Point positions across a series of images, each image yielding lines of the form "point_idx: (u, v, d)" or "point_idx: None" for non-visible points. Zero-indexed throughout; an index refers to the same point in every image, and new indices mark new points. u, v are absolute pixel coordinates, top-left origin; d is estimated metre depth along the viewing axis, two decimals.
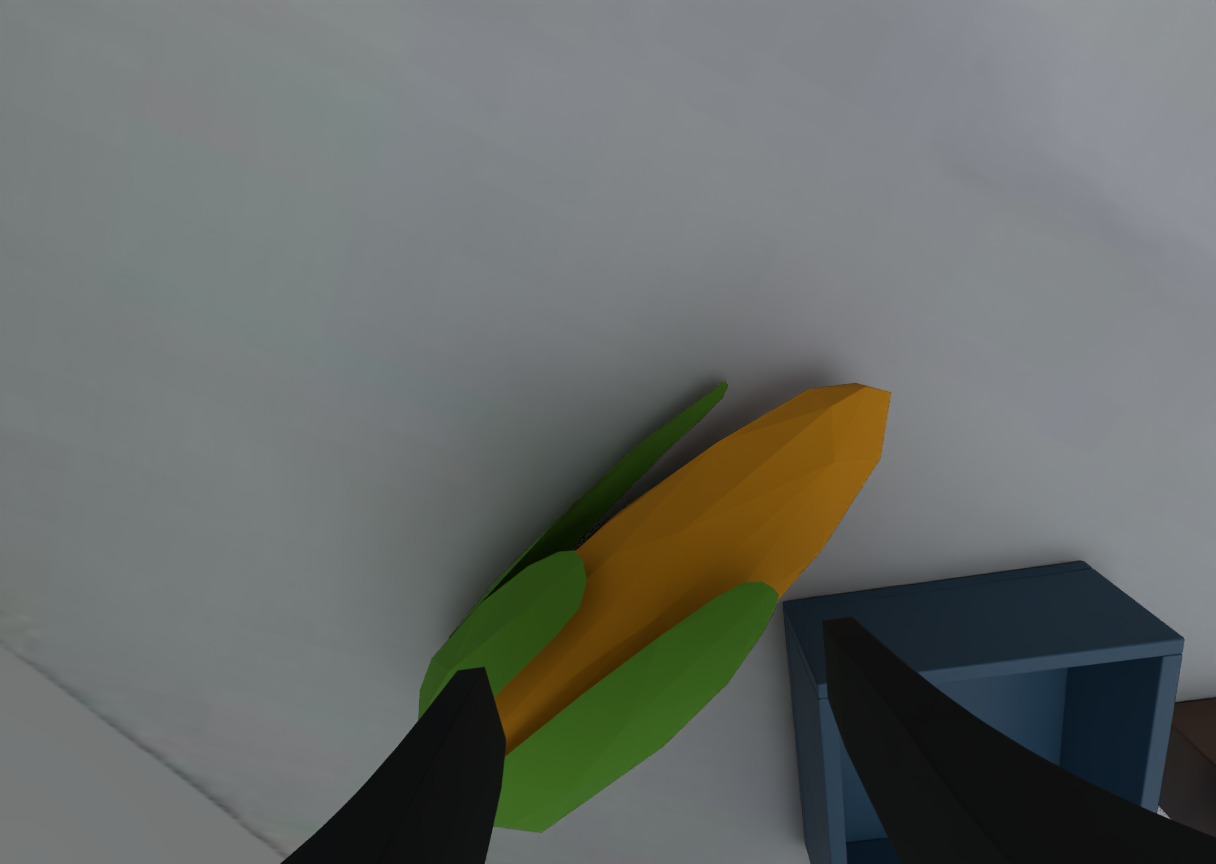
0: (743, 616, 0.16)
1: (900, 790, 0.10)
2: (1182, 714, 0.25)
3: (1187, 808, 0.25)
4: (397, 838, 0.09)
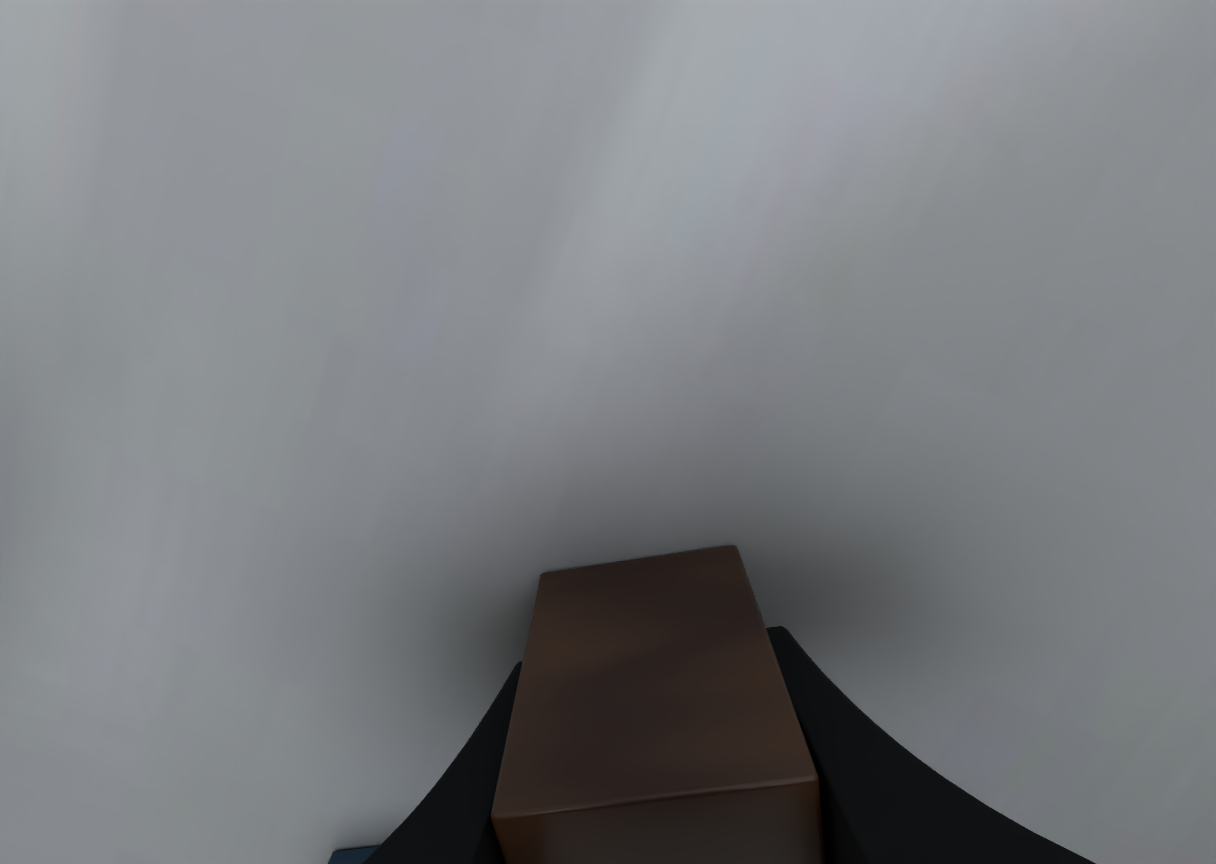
0: None
1: None
2: None
3: None
4: (487, 828, 0.09)
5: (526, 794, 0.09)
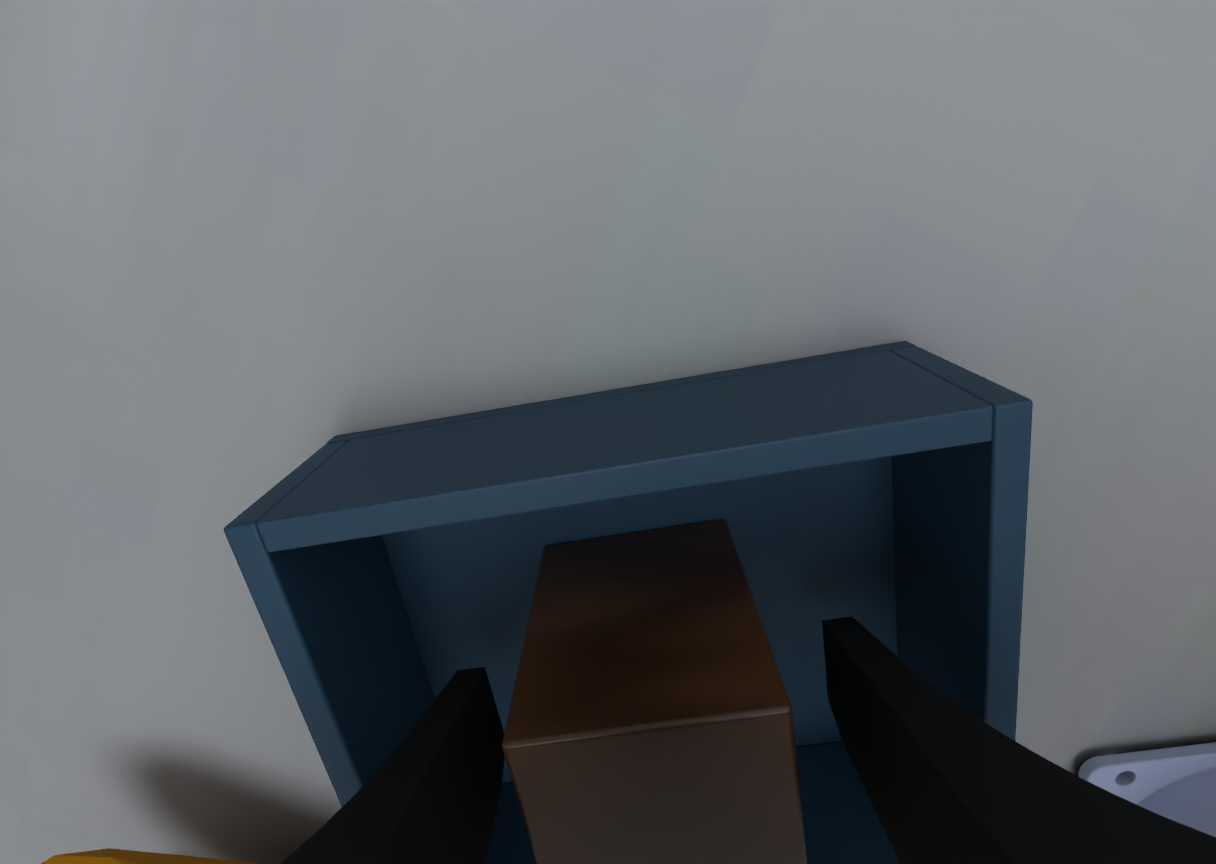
0: None
1: (900, 790, 0.10)
2: None
3: None
4: (396, 838, 0.09)
5: (533, 727, 0.10)
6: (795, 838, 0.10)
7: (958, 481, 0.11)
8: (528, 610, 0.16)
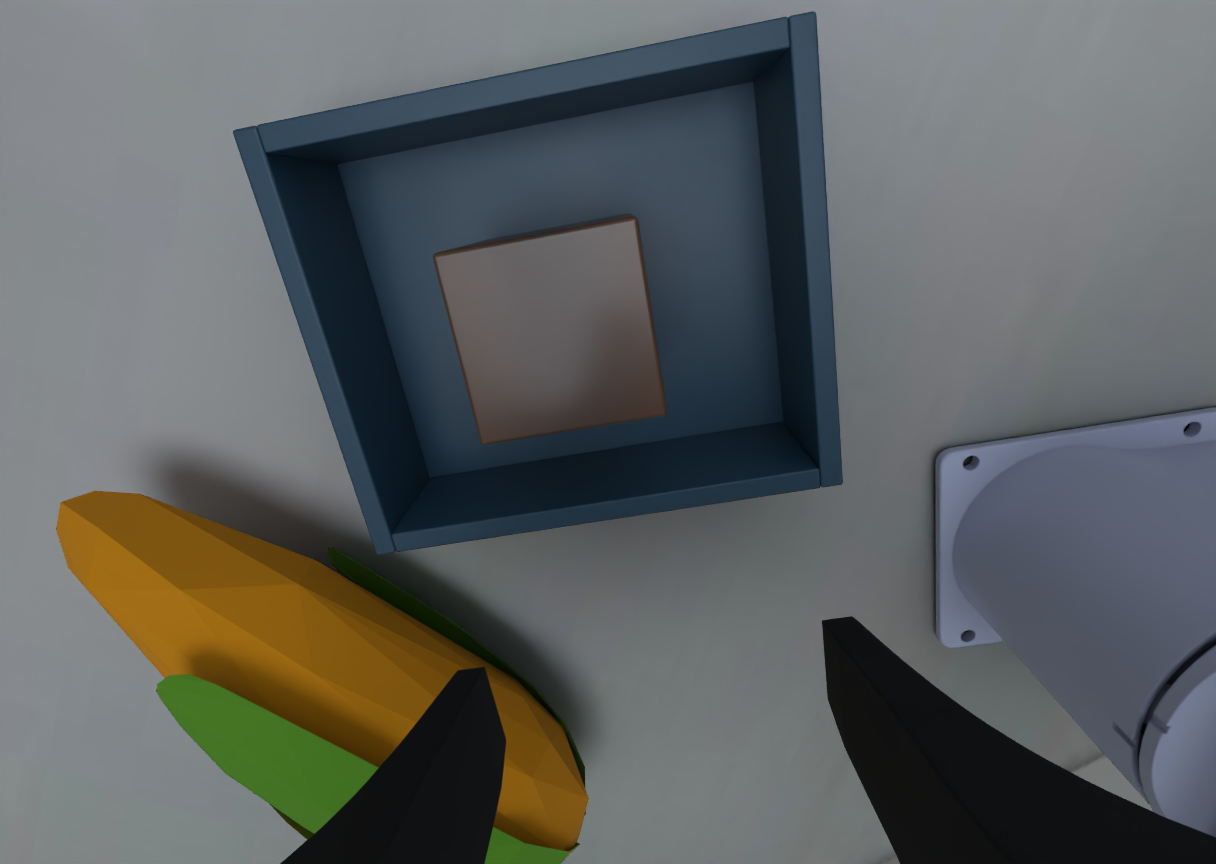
0: (192, 708, 0.17)
1: (900, 790, 0.10)
2: None
3: None
4: (396, 838, 0.09)
5: (456, 248, 0.13)
6: (649, 341, 0.14)
7: (783, 113, 0.15)
8: None
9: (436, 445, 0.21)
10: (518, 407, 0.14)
